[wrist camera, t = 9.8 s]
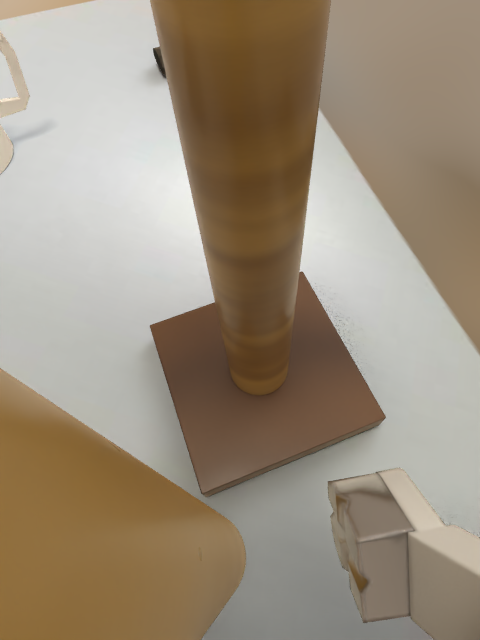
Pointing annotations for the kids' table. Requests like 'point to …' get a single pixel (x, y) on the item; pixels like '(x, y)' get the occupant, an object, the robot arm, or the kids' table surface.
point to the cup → (11, 100)
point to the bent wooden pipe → (100, 536)
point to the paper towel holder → (253, 242)
